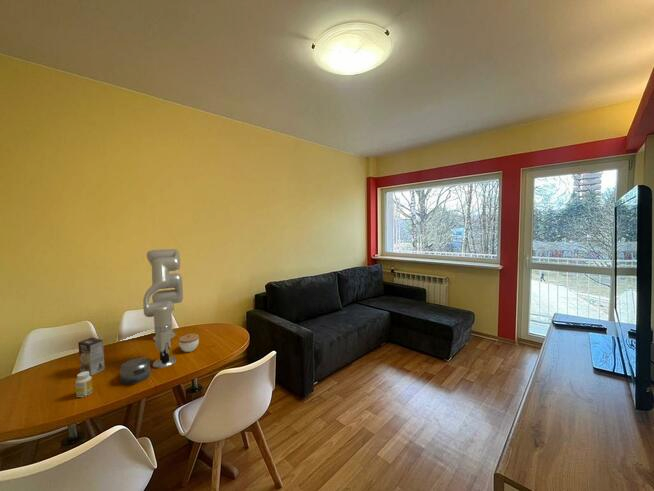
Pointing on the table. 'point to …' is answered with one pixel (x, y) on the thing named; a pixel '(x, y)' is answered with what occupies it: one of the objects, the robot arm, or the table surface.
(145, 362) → the pot
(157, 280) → the robot arm
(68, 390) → the table surface
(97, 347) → the coffee box
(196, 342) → the lidded jar
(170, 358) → the lid
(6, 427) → the table surface
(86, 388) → the supplement bottle
